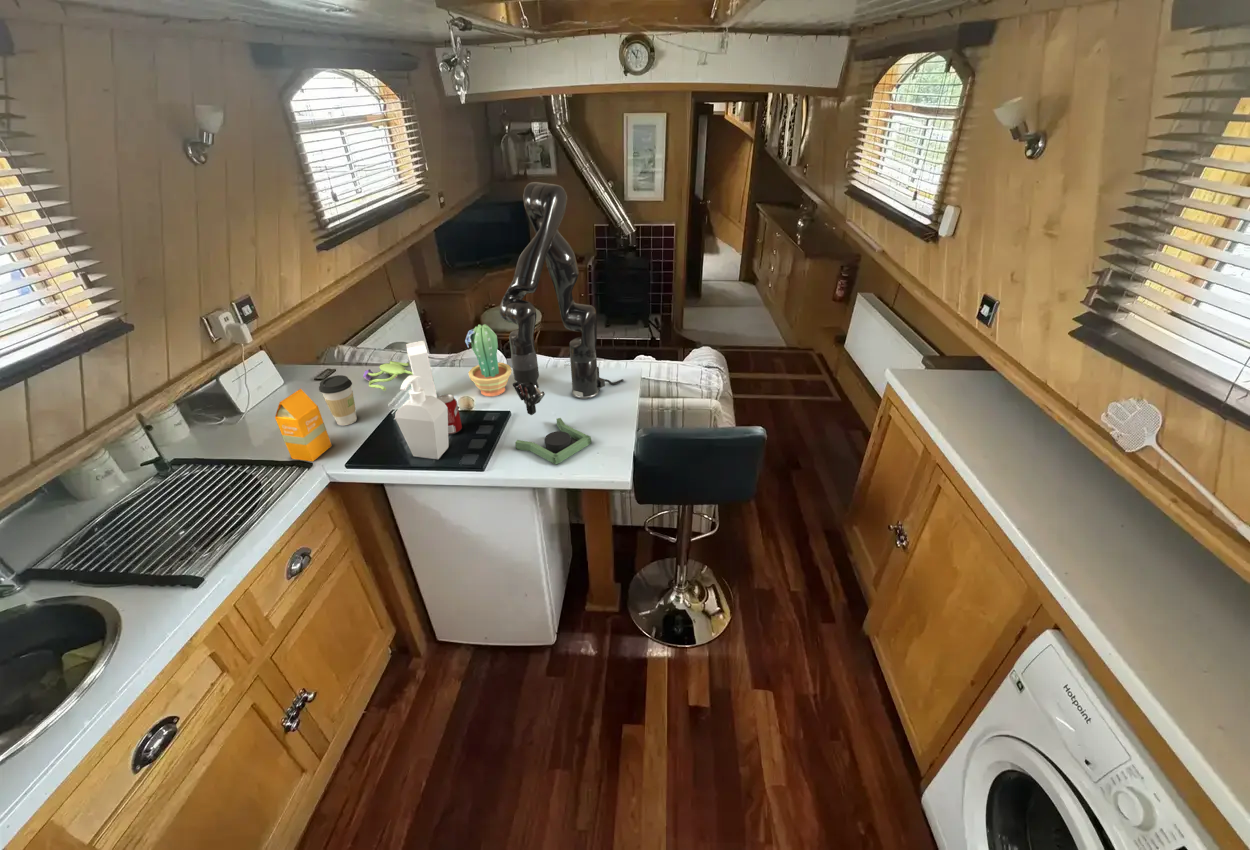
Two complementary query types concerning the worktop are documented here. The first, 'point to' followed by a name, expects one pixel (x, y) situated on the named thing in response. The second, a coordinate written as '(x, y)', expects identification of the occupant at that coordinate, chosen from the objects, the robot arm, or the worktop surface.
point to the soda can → (452, 413)
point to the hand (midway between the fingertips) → (531, 413)
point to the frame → (562, 455)
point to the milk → (421, 366)
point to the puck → (557, 441)
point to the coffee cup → (339, 398)
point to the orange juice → (302, 427)
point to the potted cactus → (487, 362)
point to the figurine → (389, 368)
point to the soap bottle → (423, 421)
